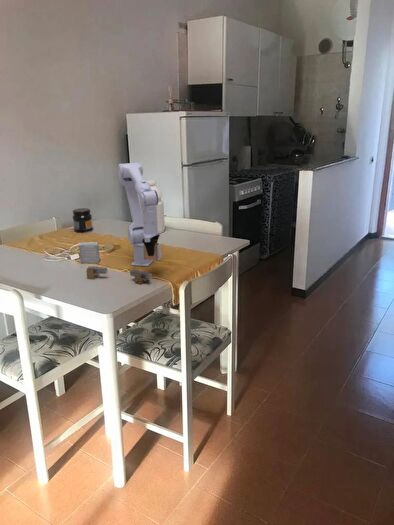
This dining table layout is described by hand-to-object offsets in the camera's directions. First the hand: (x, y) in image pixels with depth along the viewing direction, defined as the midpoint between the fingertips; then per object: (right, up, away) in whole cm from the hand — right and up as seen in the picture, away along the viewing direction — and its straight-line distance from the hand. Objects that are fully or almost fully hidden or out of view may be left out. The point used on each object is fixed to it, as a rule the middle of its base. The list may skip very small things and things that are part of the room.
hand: (152, 254), depth 173 cm
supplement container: (-46, +15, +70) cm, 85 cm away
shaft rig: (-13, -10, -2) cm, 17 cm away
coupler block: (0, -2, +1) cm, 2 cm away
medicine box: (-30, -3, +19) cm, 36 cm away
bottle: (-7, +14, +65) cm, 67 cm away
